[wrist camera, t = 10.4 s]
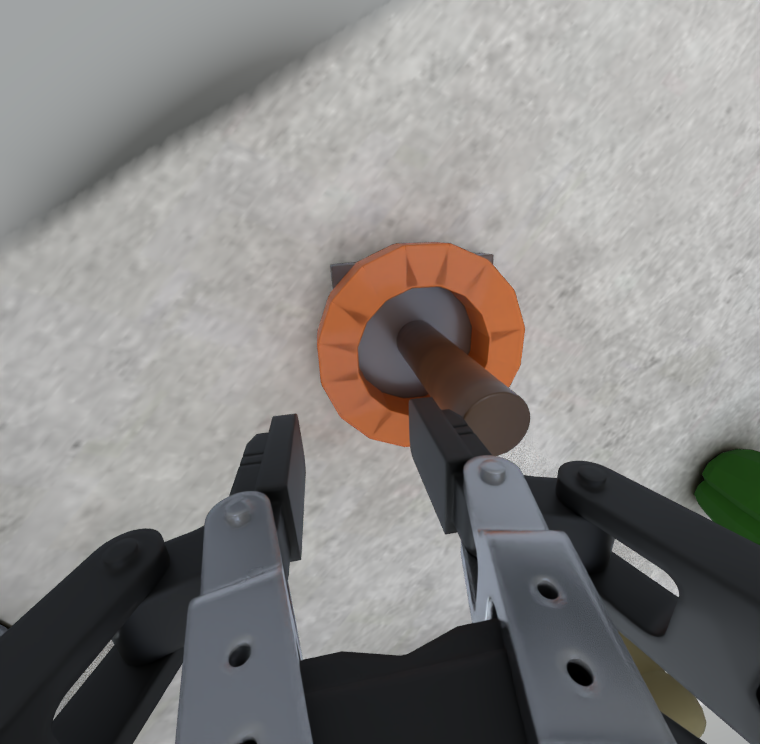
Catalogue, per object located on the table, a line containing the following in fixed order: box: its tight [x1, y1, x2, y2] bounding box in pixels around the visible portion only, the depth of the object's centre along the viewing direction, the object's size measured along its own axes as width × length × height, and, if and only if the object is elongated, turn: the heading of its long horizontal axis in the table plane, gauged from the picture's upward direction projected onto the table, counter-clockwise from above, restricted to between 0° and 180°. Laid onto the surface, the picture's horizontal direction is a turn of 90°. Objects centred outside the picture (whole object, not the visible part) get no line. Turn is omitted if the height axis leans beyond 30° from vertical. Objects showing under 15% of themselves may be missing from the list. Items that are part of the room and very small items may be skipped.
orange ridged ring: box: [317, 242, 525, 447], centre depth 19 cm, size 11×11×2 cm
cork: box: [618, 631, 706, 738], centre depth 29 cm, size 6×6×11 cm
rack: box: [330, 253, 530, 456], centre depth 17 cm, size 9×9×12 cm
